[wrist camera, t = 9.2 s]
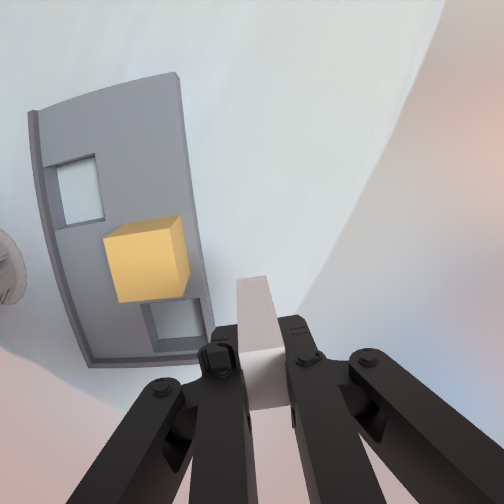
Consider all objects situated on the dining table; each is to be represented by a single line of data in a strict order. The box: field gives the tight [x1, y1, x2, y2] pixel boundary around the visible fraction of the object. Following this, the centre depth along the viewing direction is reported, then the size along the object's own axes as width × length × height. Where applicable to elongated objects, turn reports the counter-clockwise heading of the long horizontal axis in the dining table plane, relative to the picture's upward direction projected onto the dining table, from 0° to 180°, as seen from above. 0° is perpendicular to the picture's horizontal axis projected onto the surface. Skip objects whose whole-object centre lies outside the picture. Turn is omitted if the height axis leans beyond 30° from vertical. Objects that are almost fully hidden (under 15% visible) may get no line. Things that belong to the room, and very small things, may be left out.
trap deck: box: [28, 72, 216, 368], centre depth 26 cm, size 14×26×4 cm, turn 6°
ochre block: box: [103, 215, 190, 303], centre depth 24 cm, size 5×5×5 cm
